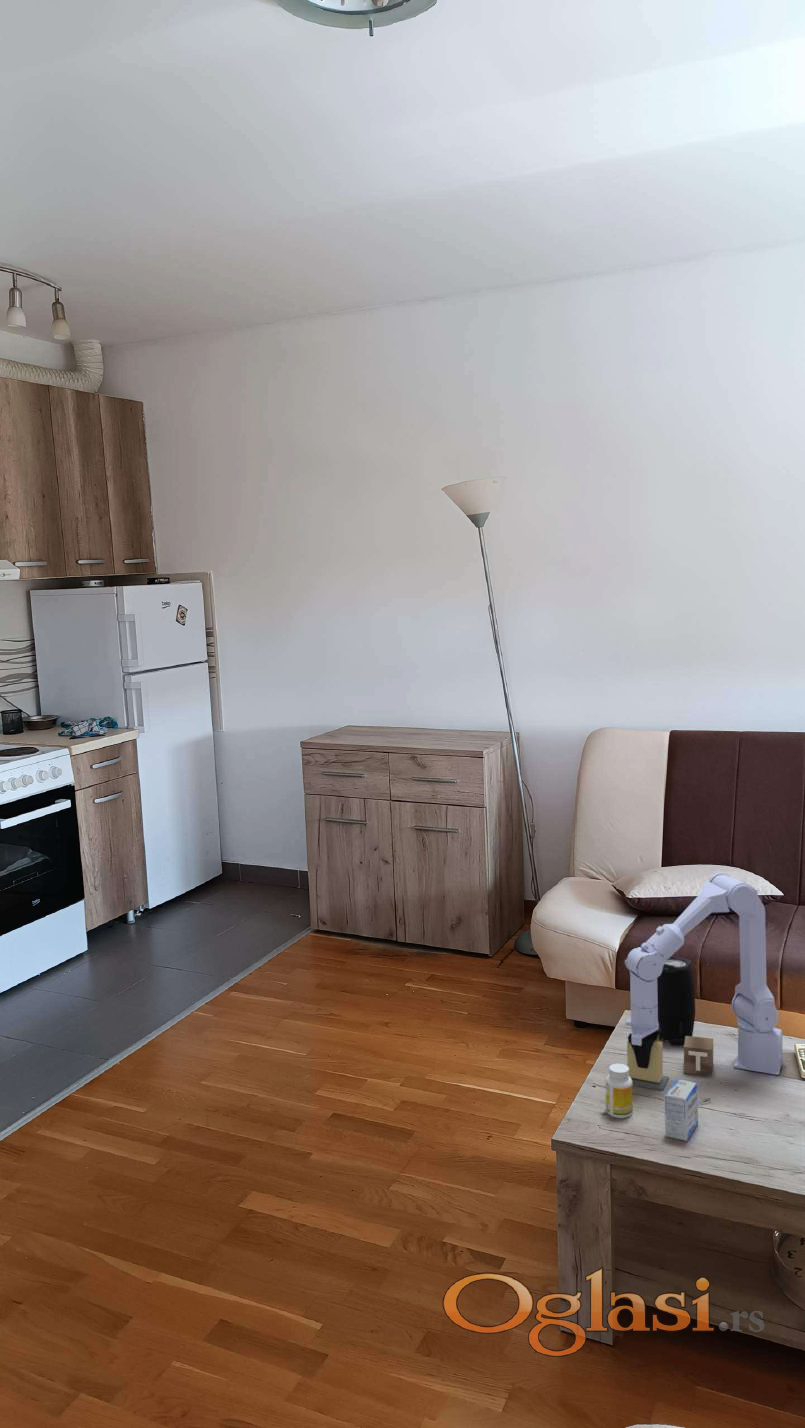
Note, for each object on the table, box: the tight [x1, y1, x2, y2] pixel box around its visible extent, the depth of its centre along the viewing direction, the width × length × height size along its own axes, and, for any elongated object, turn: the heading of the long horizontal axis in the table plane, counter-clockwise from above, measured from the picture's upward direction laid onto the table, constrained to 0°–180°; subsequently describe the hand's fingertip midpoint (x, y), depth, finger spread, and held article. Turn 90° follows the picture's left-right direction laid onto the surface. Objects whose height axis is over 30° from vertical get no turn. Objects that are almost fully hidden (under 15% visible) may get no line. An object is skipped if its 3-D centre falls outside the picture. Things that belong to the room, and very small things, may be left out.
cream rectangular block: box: [626, 1040, 664, 1083], centre depth 215 cm, size 7×3×8 cm, turn 63°
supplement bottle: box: [605, 1063, 634, 1119], centre depth 202 cm, size 5×5×10 cm
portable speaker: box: [657, 954, 696, 1047], centre depth 234 cm, size 9×9×20 cm
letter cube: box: [683, 1035, 714, 1077], centre depth 220 cm, size 6×6×6 cm
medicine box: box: [664, 1078, 699, 1142], centre depth 194 cm, size 8×4×9 cm, turn 148°
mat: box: [631, 1075, 670, 1092], centre depth 215 cm, size 9×6×1 cm, turn 63°
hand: (644, 1063), depth 215 cm, fingers closed on cream rectangular block, 3 cm apart
